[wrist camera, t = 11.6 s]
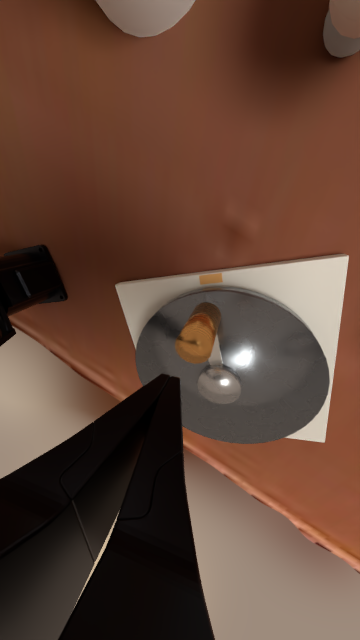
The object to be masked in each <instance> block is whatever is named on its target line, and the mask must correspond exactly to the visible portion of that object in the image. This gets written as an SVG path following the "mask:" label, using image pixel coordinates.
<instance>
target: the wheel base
mask: <svg viewBox="0 0 360 640" xmlns="http://www.w3.org/2000/svg"><path fill="white" fill-rule="evenodd" d="M348 259H349V256H348V255H346V254H336V255H328V256H321V257H313V258H305V259H297V260H290V261H282V262H274V263H266V264H258V265H251V266H243V267H235V268H227V269H220V270H212V271H204V272H196V273H189V274H181V275H173V276H165V277H158V278H150V279H142V280H134V281H126V282H120V283H118V284H116V285H115V287H116V290H117V293H118V296H119V299H120V303H121V306H122V309H123V312H124V315H125V318H126V321H127V324H128V327H129V330H130V333H131V336H132V340H133V343H134V346H135V349H136V347H137V342H138V339H139V336H140V334H141V332H142V330H143V328H144V326H145V325H146V324H147V322H148V321H149V319H150V318H151V317H152V316H153V315H154V314H155V313H156V312H157V311H158V310H159V309H160V308H161V307H162V306H163V305H165V304H166V303H167V302H169V301H170V300H172V299H173V298H175V297H177V296H179V295H181V294H184V293H187V292H189V291H192V290H196V289H201V288H206V287H218V286H222V287H236V288H242V289H248V290H251V291H255V292H258V293H261V294H264V295H266V296H268V297H271V298H273V299H275V300H277V301H279V302H280V303H282V304H284V305H285V306H287V307H288V308H290V309H291V310H292V311H293V312H295V313H296V314H297V315H298V316H299V317H300V318H301V319H302V320H303V321H304V322H305V323H306V324H307V325H308V326H309V328H310V329H311V331H312V332H313V334H314V335H315V337H316V339H317V341H318V342H319V344H320V346H321V348H322V351H323V353H324V355H325V357H326V360H327V364H328V368H329V378H330V384H329V390H328V395H327V397H326V400H325V403H324V405H323V406H322V408H321V410H320V411H319V413H318V414H317V415H316V416H315V418H314V419H313V420H312V421H311V422H310V423H308V424H307V425H306V426H305V427H303V428H302V429H300V430H299V431H297V432H295V433H293V434H291V435H289V436H287V437H285V438H293V439H301V440H309V441H316V442H324V443H325V436H326V428H327V421H328V413H329V405H330V397H331V390H332V382H333V374H334V367H335V359H336V351H337V344H338V336H339V328H340V321H341V313H342V305H343V297H344V290H345V282H346V274H347V267H348Z"/></svg>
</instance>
